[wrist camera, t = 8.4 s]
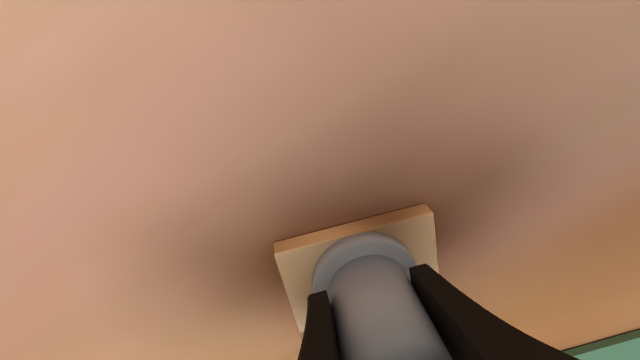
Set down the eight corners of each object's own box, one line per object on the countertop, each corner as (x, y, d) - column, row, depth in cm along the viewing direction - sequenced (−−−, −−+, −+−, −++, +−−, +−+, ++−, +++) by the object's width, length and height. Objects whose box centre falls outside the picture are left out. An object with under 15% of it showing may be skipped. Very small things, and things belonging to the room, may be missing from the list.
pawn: (407, 220, 14) (507, 365, 8) (417, 300, 16) (505, 466, 10) (301, 248, 14) (329, 416, 8) (323, 326, 15) (359, 508, 10)
